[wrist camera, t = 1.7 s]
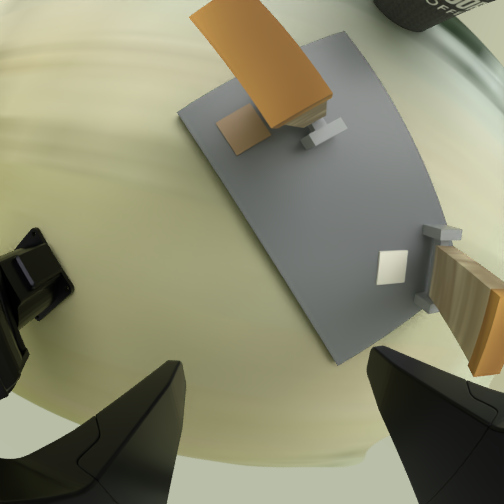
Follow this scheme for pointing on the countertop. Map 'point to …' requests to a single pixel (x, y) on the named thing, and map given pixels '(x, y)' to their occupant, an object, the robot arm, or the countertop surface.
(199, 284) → the countertop surface
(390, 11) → the coffee cup
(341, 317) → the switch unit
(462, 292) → the lever
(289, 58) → the lever
